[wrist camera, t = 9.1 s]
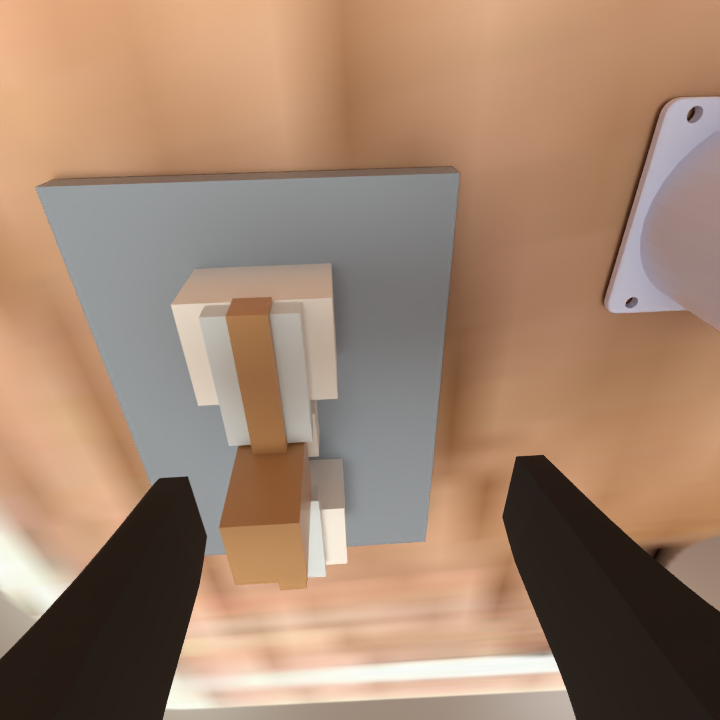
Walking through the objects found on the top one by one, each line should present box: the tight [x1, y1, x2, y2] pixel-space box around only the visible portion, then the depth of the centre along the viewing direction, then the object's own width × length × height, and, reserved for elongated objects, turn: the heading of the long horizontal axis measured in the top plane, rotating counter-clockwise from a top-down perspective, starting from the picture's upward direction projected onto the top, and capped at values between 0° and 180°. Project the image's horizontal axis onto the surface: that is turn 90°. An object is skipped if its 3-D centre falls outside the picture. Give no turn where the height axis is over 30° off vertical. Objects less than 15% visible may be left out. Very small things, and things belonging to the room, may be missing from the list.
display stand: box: [35, 166, 460, 565], centre depth 20 cm, size 14×20×4 cm
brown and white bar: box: [199, 297, 326, 590], centre depth 16 cm, size 3×14×4 cm, turn 1°
